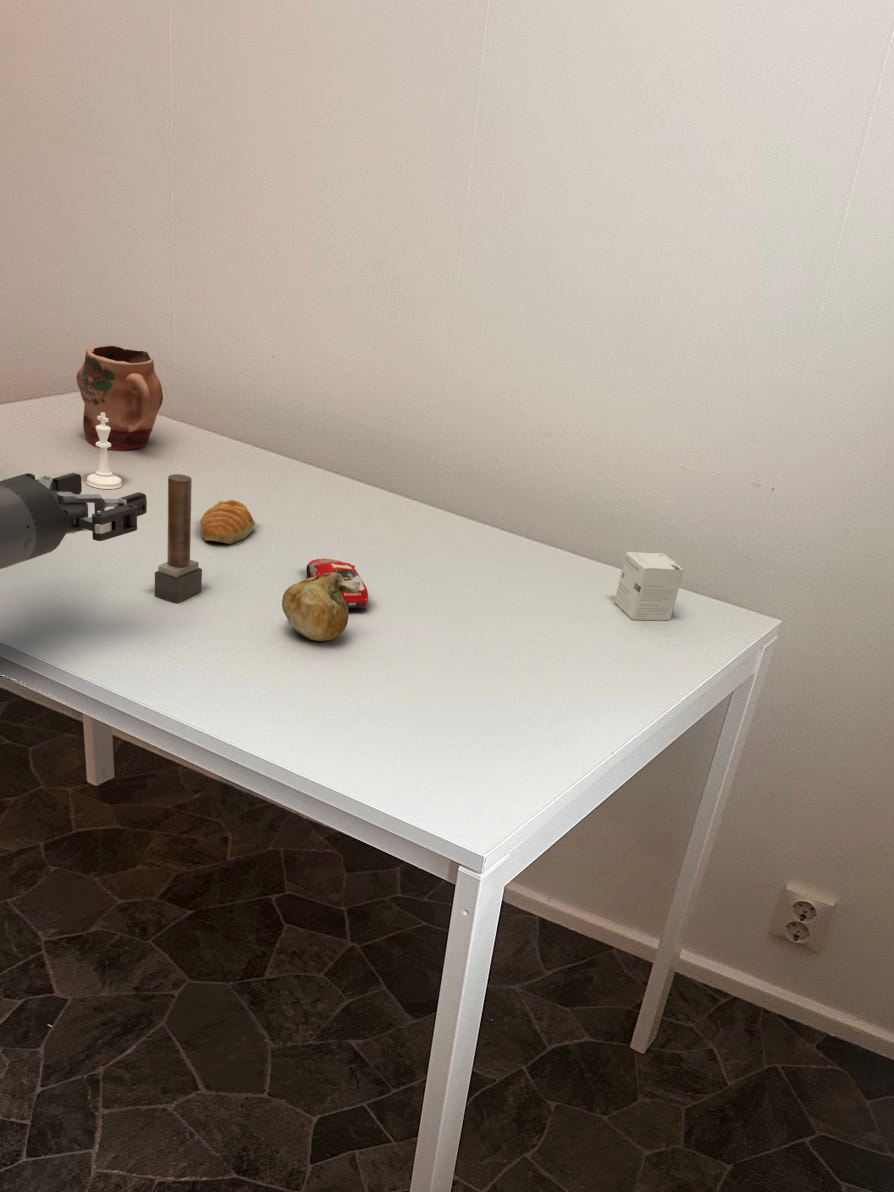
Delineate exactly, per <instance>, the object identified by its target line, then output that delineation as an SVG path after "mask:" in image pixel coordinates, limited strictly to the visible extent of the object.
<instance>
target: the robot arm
mask: <svg viewBox="0 0 894 1192" xmlns="http://www.w3.org/2000/svg"><path fill="white" fill-rule="evenodd" d="M82 489H83V484H82V475H81V474H79V473H76V472H71V473H67V474H63V475H60V476H55V477H51V476H47V475H44V476H41V477H40V478H39V479H36V474H34V473H31V472H27V473H23V474H19V475H16V476H12V477H9V478H6V479H4V480H0V570H3V569H6V568H9V567H12V566H14V565H18V564H20V563H24V562H27V561H30V560H32V559H35V558H38V557H41V556H44V555H47V554H50V553H52V552H53V551H55V550H56V549H57V548H58V547H59V546H60V544H61V543H62V541H63V540H64V538H65V536H66V535H70V534H72V535H73V534H74V535H75V534H76V533H78V532H92V540H93V541H97V542H103V541H107V540H110V539H113V538H117V537H120V536H124V535H126V534H129V533H132V532H136V531H138V517H139V516H143V515H145V514H147V513H148V512H147V511H148V502H147V501H148V499H147V495H146V494H145V493H143V492H139V491H138V492H134V493H131V494H129V495H125V496H121V497H119V498H103V496H101V494H99V493H82V491H83V490H82ZM88 504H94V512H93V513H92V514H91V516H89V505H88ZM106 508H110V509H106Z"/></svg>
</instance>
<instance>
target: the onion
mask: <svg viewBox="0 0 894 1192" xmlns="http://www.w3.org/2000/svg"><path fill="white" fill-rule="evenodd" d="M319 576H320V573H319V575H318V576H316V577H312V578H308V579H307V578H306V579H304V580H300V581H299V582H297V583H293V584H292V585H290V586H289V587H288V588H286V589H285V591H284V593H283V595H282V599H281V606H282V611H283V613H284V615H285V617H286V619H287V620H285V623H287V624H289V625H290V626H292V628H293V629H294V631H296V632H297V633H298V634H300V635H301V636H303V637H304V638H307V639H308V640H310V641H311V640H312V641H316V642H326V641H327V642H328V641H332V640H334V639H336V638H338V637H340V635H342V633H343V632H344V630H346V628H347V625H348V624H349V623H348V622H349V617H350V616H349V615H350V614H349V608H348V607H347V604H346V602H345V600H344V599H343V597H342V595H341V592H342V591H344V592H355V593H356V592H358V591H359V586H360V582H359V581H349V580H348V581H345V580H343V579H342V578H341V577H342V575H340V574H338V573H336V572H335V573H333V572H331V573H327V574H326V573H324V574H322V577H321V578H318V577H319Z"/></svg>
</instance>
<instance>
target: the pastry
mask: <svg viewBox="0 0 894 1192" xmlns="http://www.w3.org/2000/svg"><path fill="white" fill-rule="evenodd" d="M255 525H256V521H255V519H254V518H253V516H252V514H251V512H250V511H249V509H248V507H247V506H246V505H245V504H244V503H242V502H240V501H238V500H235V499H228V500H225V501H223V500H219V501H218V502H217V503H215V504H214V505H213V506H212V507H210V508H208V509H207V510H206V511H205V512H204V513H203V515H202V517H201V519H200V533H201V537H202V539H203V540H204V541H212V542H217V543H224V544H228V545H230V544H231V545H232V544H233V545H234V544H235V542H241V541H242V540H244V539H246V538H247V537H248V535H250V534H251V532H252V530H253V529H254V527H255Z"/></svg>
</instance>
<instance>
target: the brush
mask: <svg viewBox="0 0 894 1192" xmlns="http://www.w3.org/2000/svg"><path fill="white" fill-rule="evenodd" d="M192 484H193V483H192V477H191V476H189V475H186V474H180V473H179V474H178V473H174V474H170V475H168V477H167V560H166V562H164V563H161V564H159V565H158V569H157V571H154V597H156V598H160V599H162V600H166V601H169V602H172V603H174V604H179V603H181V602H184V601H185V600H188V599H190V598H192V597H194V596H196V595H199V594H200V593H202V592H203V591H202V590H203V589H202V588H203V568H201V567H200V562H198V561H196V560H192V559H191V538H192V537H191V535H192V489H193V488H192Z"/></svg>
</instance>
